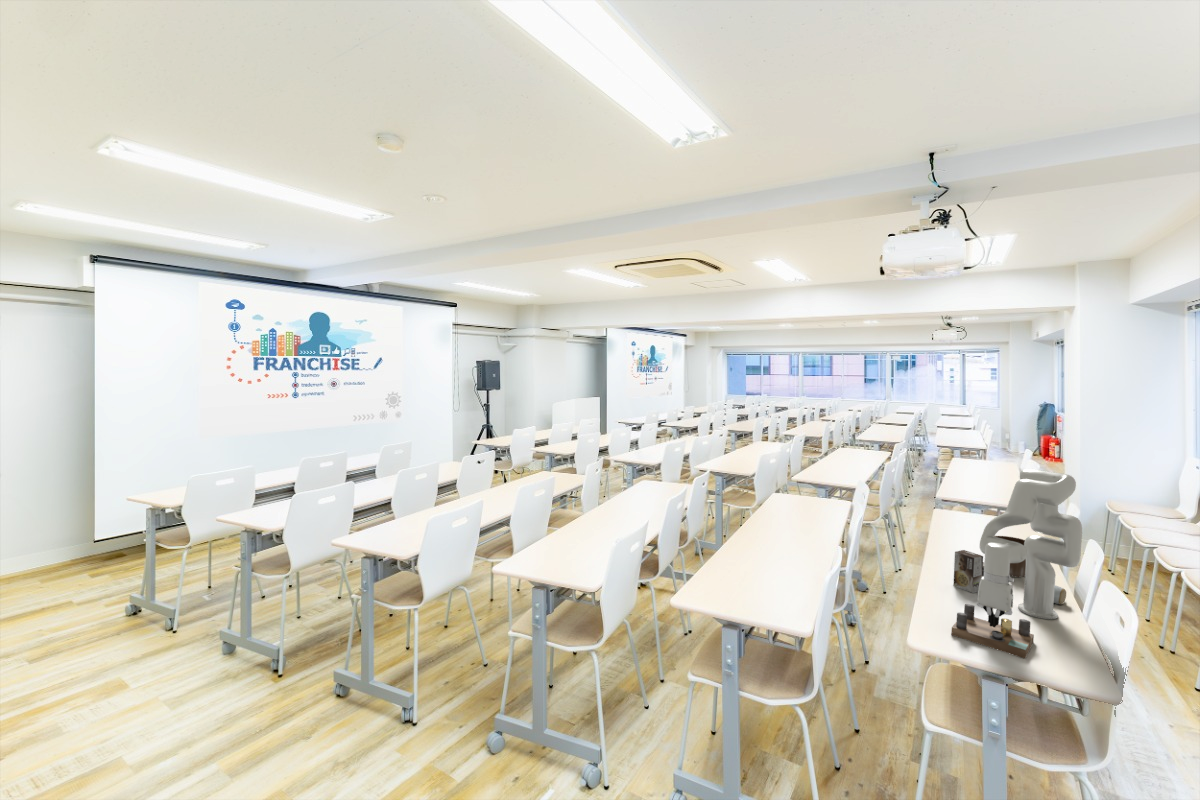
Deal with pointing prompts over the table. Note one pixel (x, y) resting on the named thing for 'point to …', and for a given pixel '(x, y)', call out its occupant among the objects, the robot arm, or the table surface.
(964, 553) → the coffee box
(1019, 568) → the plant pot
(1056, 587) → the ceramic mug
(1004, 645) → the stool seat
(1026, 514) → the robot arm
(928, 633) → the table surface
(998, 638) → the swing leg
